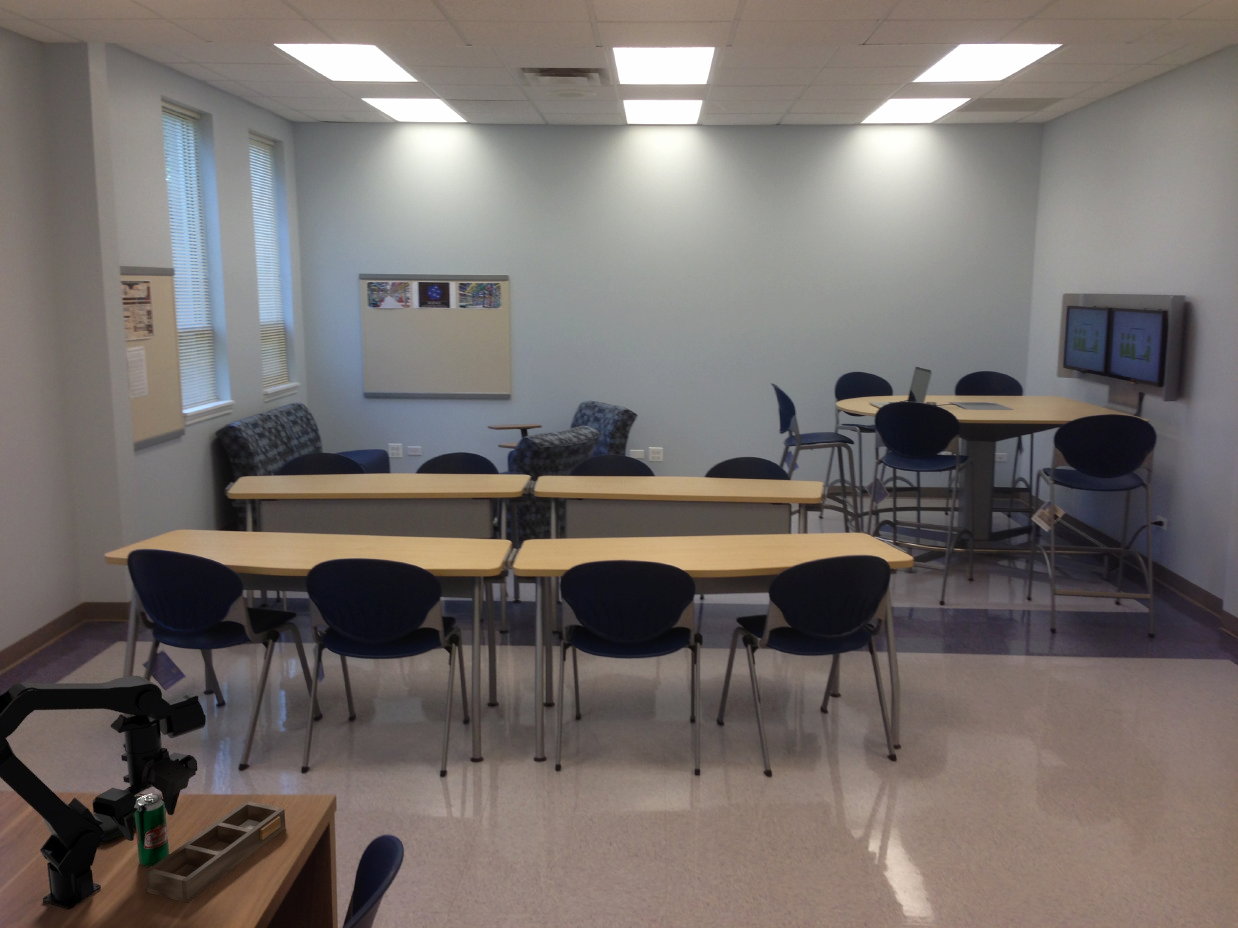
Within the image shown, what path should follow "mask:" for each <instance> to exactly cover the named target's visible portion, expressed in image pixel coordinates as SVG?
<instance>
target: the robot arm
mask: <svg viewBox="0 0 1238 928" xmlns="http://www.w3.org/2000/svg"><path fill="white" fill-rule="evenodd" d="M100 709H101V710H109V711H114V712H117V713H120V714H118V717H117V718H116V719H115V720H114V721H113V722H112V723H111V724H110V725H109V726H110V729H112V730H113V731H115V732H117V733H118V734H121V733H124V742H125V750H126V751H125V753H123V754H121V757H120V758H121V761H123V762H126V763H127V764H126V765H127V774H126V775H124V776H123V777H122V778H123V782H124V783H126V784H129V786H128V787H126V788H125V789H120V788H116V787H111V788H109V789H107V790H106V791H104V792H102V793H100V794H98V795H96V796H95V798H94V799H93V800H92V810H93V811H92V812H91V811H90V808H88V806H86V805H85V804H83V803H82V801H80V800H79V799H77V798H76V797H73V798H72V800H70V802H69V803H68V802H66V801H64V800H62V799H61V798H60V797H59V796H58V795H57V794H56V793H55V792H54V791H53V790H51V789H50V787H49V786H47V785H46V784H45V782H43V780H42V779H40V778H39V777H38V775H36V774H35V773H34V772H33V770H31V769H30V768H29V767H28V766H27V765H26V764H24V763H23V762H22V760H20V759H19V758H18V757H17V756H16V754H15V753H14V751H13V749H12V747H11V744H10V743H9V741H8V740H7V738H8V737H10V736H11V735H13V733H15V731H16V730H17V729H18V727H20V725H22V723H23V721H25V719H26V718H28V716H29V715H31V714H32V713H33V712H34V711H59V710H63V711H66V710H100ZM121 713H122V714H121ZM124 714H125V715H126V714H127V715H129V716H125V715H124ZM206 720H207V719H206V714H205V712H204V709H203V707H202V704H201V703H200V701H199V696H198V695H197V694H196V693H193V692H190V693H187V694H185V695H183V696H181V697H179V698H175V699H172V700H169V701H167V700H166V699H164V698H163V693H162V690H161V688H160V687H159V685H157V684H156V683H154V682H151V681H150V680H148V679H146V678H144V677H143V676H141V675H131V676H124V677H118V678H114V679H112V680H110V681H105V682H99V683H95V682H94V683H92V682H91V683H87V682H86V683H84V682H83V683H79V682H78V683H75V682H73V683H71V682H70V683H65V682H63V683H58V682H57V683H53V682H52V683H51V682H50V683H49V682H48V683H46V682H45V683H41V682H39V683H32V682H27V681H22V682H18V683H16V684H13V685H12V686H11V687H9V688H7V689H6V690H5V691H4V692H3V693H0V779H2V781H4V782H5V784H6V785H8V787H9V788H11V789H12V790H13V791H14V792H15V793H16V794H17V795H18V796H19V797H21V798H22V799H23V800H24V801H25V802H26V803H27V804H28V805H29V806H30V808H32V809H33V810H34V811H35V812H36V813H37V814H39V815H40V816H41V817H42V819H43V821H44V823H45V825H46V826H47V828H48V830H49V831H50V833H51V834H50V836H49V837H48V838H47V839H46V841H45V842H44V844H43V845H42V846H41V848H40V850H39V852H40V853H41V854H42V856H43V858H44V859H45V860H46V861H47V863H46V865H47V873H48V875H47V876H48V882H49V885H48V886H49V892H50V893H48V894H46V895H45V896H44V897H42V902H43V903H47V904H50V905H54V906H57V907H60V908H63V909H73V908H74V907H75V906H77V905H79V904H80V903H81V902H83V901H84V900H86V899H87V898H88V897H90V896H92V895H93V894H95V893H97V892H98V891H99V890H101V888H102V885H101V884H99V883H95V882H94V877H93V875H94V874H93V870H92V866H93V865H94V862H95V857H96V854H97V851H98V848H99V847H100V845H101V843H102V839H103V835H104V832H103V830H102V828H101V827H100V826H99V825H101V824H103V822H102V821H101V820H100V819H98V818H97V817H96V816H95V815H94V814H95V813H98V814H102V815H106V816H109V817H110V818H111V819H112V820H113V821H114V822H115V824H116V825H117V826H118V828H119V829H120V830H121V832H122V833H123V834H124V835H123V836H124V837H125V838H126V840H127V841H130V842H133V841H134V840H135V829H134V823H133V814H134V813H135V812H136V811H137V810H138V808H134V807H135V805H136V796H137V795H139V794H144V792H146V791H147V790H149V789H151V788H152V787H153V788H155V789H156V790H158V791H159V792H161V796H162V799H163V800H164V801H165V810H166V815H168V816H174V815H175V811H176V807H177V804H178V800H179V797H180V793H181V791H182V790H185V789H187V787H188V786H189V782H190V779H191V778H192V777H194V776H196V775H197V771H198V760H197V759H196V758H195V757H194V756H193V755H191V754H184V753H179V752H176V751H175V752H173V753H171V754H170V753H169V750H168V748H166V747H162V735H164V736H166V735H167V736H168V738H170V739H174V738H178V737H180V736H183V735H186V734H189V733H192V732H195V731H198V730H201V729H203V728H204V727H205V726H206V722H207V721H206Z"/></svg>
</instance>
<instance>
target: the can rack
mask: <svg viewBox="0 0 1238 928" xmlns="http://www.w3.org/2000/svg"><path fill="white" fill-rule="evenodd" d="M285 812H286V811H285V808H281V807H276V806H272V805H267V804H263V803H257V802H253V801H248V800H246V801H244V802H243V803H242V804H240V805H239V806H237V807H236V808H235V809H233V810H232V811H230V812H229V813H227V814H226V815H224V816H223V817H222V818H220V819H219V820H217V821H216V822H214V823H213V824H211V825H210V826H208V827H207V828H205V829H204V830H202V831H201V832H200V833H198V834H196V835H195V836H194V837H192V838H191V839H190V840H188V841H187V842H185V843H184V844H182V845H180V846H179V847H178V848H177V849H175V850H174V851H172V852H171V853H169V855H168V856H166V857H165V858H163V859H162V860H161V861H159V862H158V863H156V864H155V865H153V866H151V867H149V868H148V869H146V870H144V872H145V885H146V891H147V892H146V893H149V894H153V895H157V896H159V897H164V898H166V899H167V898H168V899H171V900H174V901H175V900H176V901H178V902H183V903H187V904H189V903H190V902H192V901H193V900H195V898H197V897H198V896H199V895H201V894H202V893H203V892H205V891H206V890H208V889H209V888H210V887H211V886H213V885H214V884H215V883H216V882H218V881H219V880H220V879H222V878H223V877H224V876H226V875H227V874H228V873H229V872H231V871H232V870H234V869H235V868H236V867H237V866H238V865H240V864H241V863H242V862H244V861H245V860H246V859H248V858H249V857H250V856H252V855H253V854H254V853H256V852H257V851H258V850H259V849H260V848H262V847H263V846H264V845H266V844H267V843H268V842H270V841H271V840H272V839H273V838H275V837H276V836H277V835H279V834H280V833H281V832H282V831H284V830H286V828H287V827H286V814H285Z"/></svg>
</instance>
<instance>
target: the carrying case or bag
mask: <svg viewBox="0 0 1238 928" xmlns="http://www.w3.org/2000/svg"><path fill="white" fill-rule="evenodd" d="M139 795H145V794H144V793H141V794H139ZM140 797H142V796H136V800H137V799H138V798H140ZM93 814H94V815H95V816H96V817H97V818H98V819H100V820H101V821H102V822H103V824H101V825H99V826H100V827H101V828H102V830H103V832H104V835H103V839H102V842H101V843H103V844H110V843H112V842H115V841H116V840H118V839H120V838H121V837H123V836H124V834H123V833H122V832H121V830H120V829H119V828H118V826H117V825H116V824H115V822H114V821H113V820H112V819H111V818H110V817H109V816H106V815H102V814H98V813H93ZM133 823H134V830H136V827H135V816H134V814H133Z"/></svg>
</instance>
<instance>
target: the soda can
mask: <svg viewBox="0 0 1238 928" xmlns="http://www.w3.org/2000/svg"><path fill="white" fill-rule="evenodd" d="M134 808H138V810H137V811H136V812H135V813H134V816H135V827H136V828H135V836H136V845H137V858H138V859H137V860H138V863H139V864H140V865H141V866H143V867H149V868H150V867H152V866H153V865H155V864H156V863H158V862H159V861H161V860H162V859H163V858H165V857H166V856H168V855H169V854H170V848H169V846H170V845H169V836H168V834H169V833H168V822H167V811H166V808H165V801H164V800H163V797H162V794H159V793H148V794H144V796H142V797H140V798H138V799H137V800H136V805H135V807H134Z"/></svg>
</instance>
